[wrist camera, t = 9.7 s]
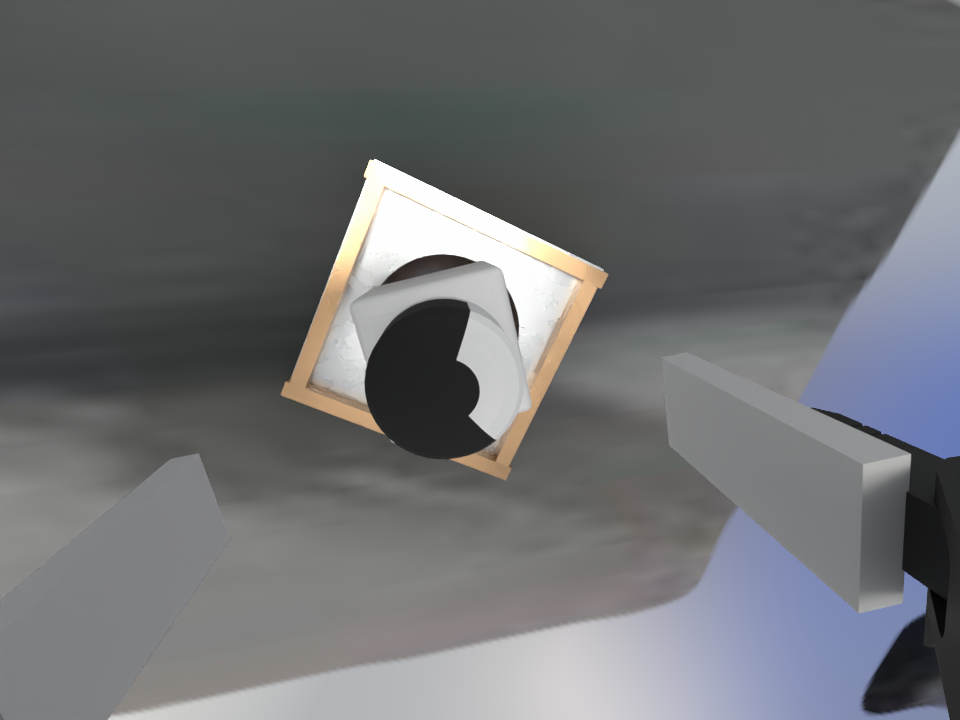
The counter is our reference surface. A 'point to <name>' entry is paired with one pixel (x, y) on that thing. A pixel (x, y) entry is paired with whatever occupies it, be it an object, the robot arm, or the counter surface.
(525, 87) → the counter surface
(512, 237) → the wooden square frame
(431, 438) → the container
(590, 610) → the counter surface
